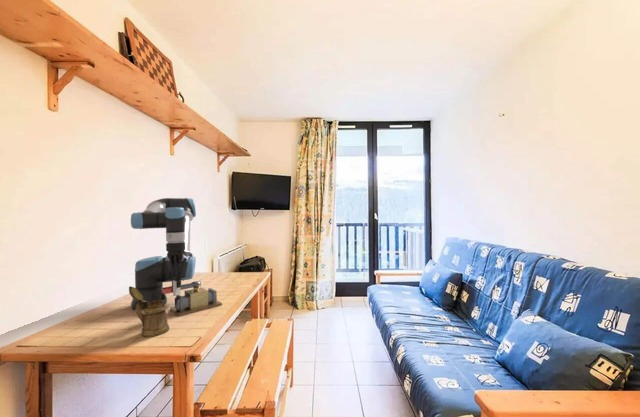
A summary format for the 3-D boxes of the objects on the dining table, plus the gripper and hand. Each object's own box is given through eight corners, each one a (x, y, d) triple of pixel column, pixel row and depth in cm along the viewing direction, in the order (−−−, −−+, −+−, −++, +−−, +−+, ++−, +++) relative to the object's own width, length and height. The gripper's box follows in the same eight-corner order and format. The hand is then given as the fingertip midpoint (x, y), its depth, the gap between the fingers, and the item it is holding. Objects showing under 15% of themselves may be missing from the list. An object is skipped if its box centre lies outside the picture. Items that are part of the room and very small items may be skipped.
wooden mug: (134, 329, 109) (134, 283, 109) (172, 325, 111) (171, 281, 112) (123, 339, 100) (123, 289, 100) (164, 335, 103) (164, 286, 103)
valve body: (169, 309, 130) (169, 288, 130) (211, 299, 144) (211, 280, 144) (178, 316, 121) (177, 293, 121) (222, 305, 135) (221, 284, 135)
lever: (198, 285, 135) (198, 280, 135) (202, 286, 133) (202, 281, 133) (161, 292, 123) (161, 287, 123) (164, 294, 120) (164, 289, 120)
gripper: (157, 242, 122) (158, 296, 121) (181, 243, 118) (182, 298, 118) (170, 240, 129) (171, 291, 129) (193, 241, 125) (194, 293, 125)
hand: (176, 294), depth 123 cm, fingers closed
